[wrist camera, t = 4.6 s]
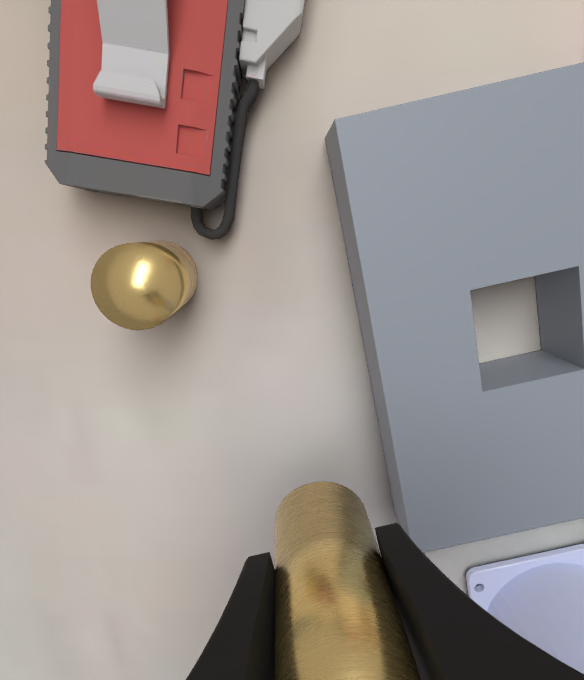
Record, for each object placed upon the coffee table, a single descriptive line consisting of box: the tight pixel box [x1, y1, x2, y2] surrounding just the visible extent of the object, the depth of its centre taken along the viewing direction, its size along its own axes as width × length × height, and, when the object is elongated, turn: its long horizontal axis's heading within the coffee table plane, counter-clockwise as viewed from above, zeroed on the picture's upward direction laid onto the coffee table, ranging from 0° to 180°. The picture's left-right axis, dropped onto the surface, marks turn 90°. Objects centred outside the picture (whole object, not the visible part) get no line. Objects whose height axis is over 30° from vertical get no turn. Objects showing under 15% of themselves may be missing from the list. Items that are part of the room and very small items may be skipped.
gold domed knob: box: [91, 241, 198, 330], centre depth 17 cm, size 3×3×4 cm
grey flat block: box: [325, 62, 584, 553], centre depth 19 cm, size 18×12×3 cm, turn 12°
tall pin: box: [275, 482, 421, 680], centre depth 10 cm, size 3×3×8 cm
